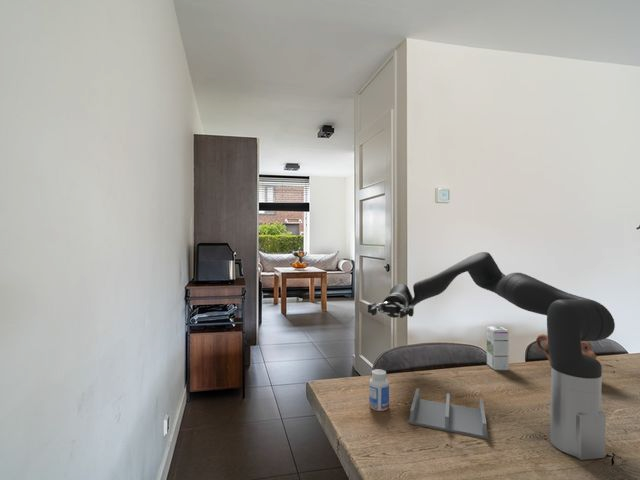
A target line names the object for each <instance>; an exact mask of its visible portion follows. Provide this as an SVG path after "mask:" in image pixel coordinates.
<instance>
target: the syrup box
mask: <svg viewBox="0 0 640 480" xmlns="http://www.w3.org/2000/svg"><path fill="white" fill-rule="evenodd" d="M509 335H510V331H509V330H508V329H506V328H505V327H502V326H500V325H499V326H498V325H491V326H486V365H487V366H488V367H489V368H490V369H492V370H494V371H509V370H510V368H509V365H510V364H509V361H510V359H509V357H510V355H509V351H510V349H509V348H510V345H509V339H510V337H509Z"/></svg>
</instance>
